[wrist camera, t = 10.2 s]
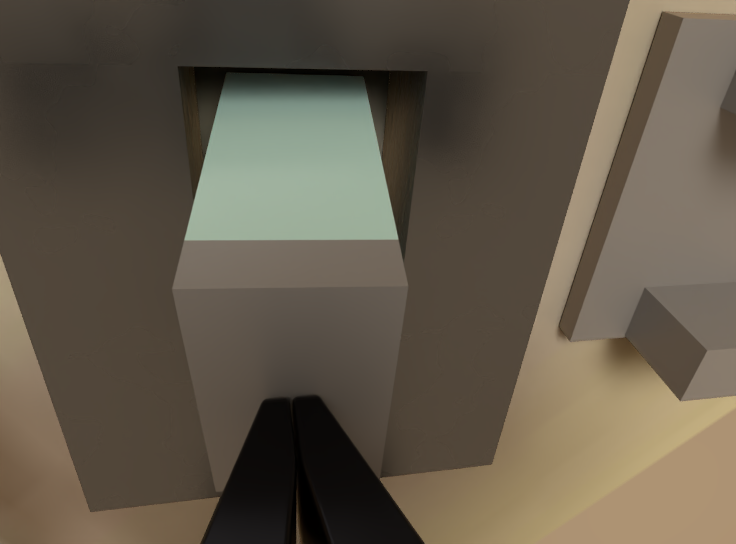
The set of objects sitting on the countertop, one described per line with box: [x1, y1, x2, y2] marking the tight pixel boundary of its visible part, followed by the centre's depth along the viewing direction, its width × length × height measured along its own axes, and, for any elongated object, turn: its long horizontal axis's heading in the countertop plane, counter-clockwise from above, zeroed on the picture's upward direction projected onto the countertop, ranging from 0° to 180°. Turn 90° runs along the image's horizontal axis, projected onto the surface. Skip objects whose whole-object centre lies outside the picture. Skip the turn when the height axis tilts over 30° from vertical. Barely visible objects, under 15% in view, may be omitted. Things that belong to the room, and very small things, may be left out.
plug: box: [172, 72, 408, 492], centre depth 12 cm, size 5×3×7 cm, turn 177°
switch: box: [0, 0, 630, 512], centre depth 13 cm, size 18×12×3 cm, turn 176°
